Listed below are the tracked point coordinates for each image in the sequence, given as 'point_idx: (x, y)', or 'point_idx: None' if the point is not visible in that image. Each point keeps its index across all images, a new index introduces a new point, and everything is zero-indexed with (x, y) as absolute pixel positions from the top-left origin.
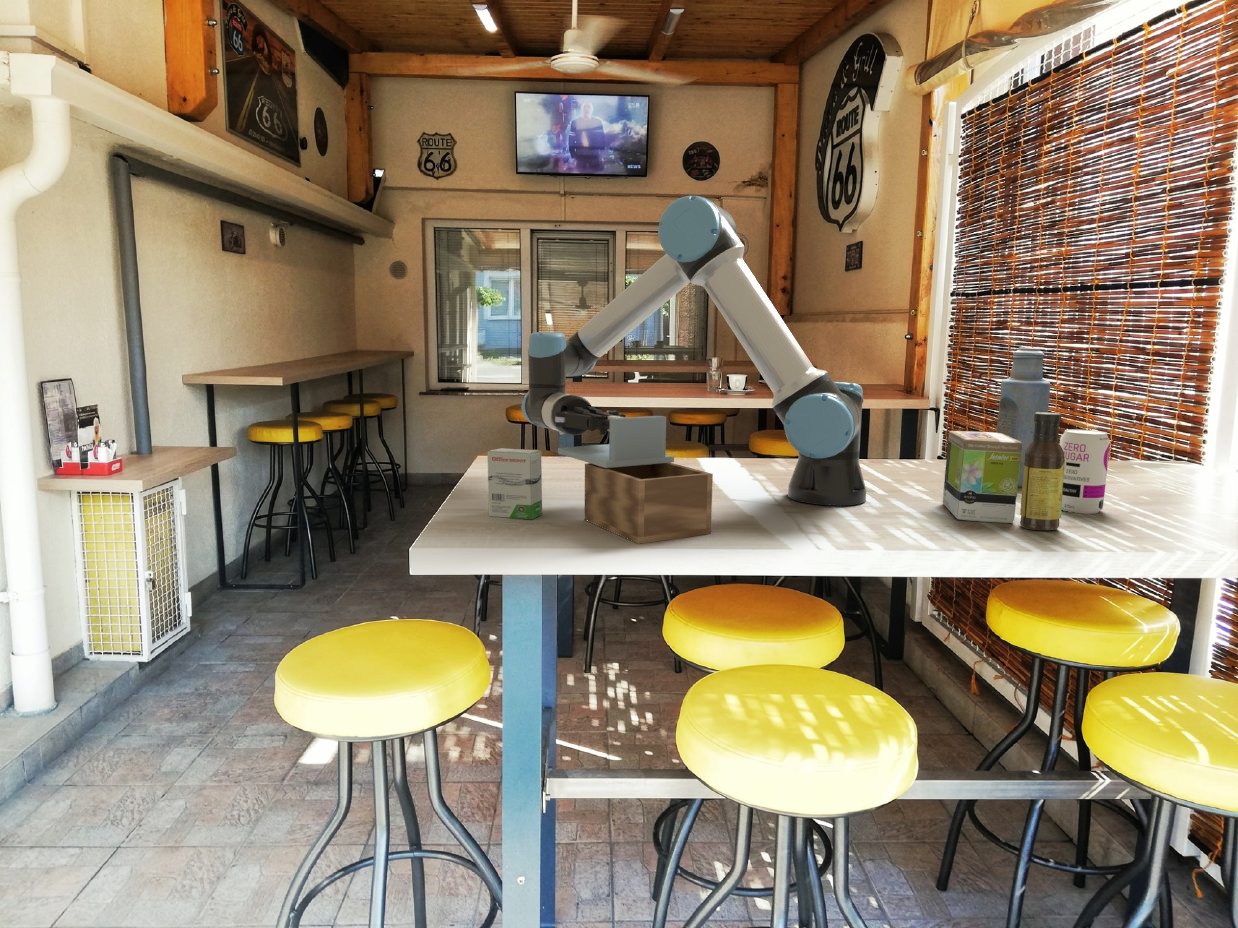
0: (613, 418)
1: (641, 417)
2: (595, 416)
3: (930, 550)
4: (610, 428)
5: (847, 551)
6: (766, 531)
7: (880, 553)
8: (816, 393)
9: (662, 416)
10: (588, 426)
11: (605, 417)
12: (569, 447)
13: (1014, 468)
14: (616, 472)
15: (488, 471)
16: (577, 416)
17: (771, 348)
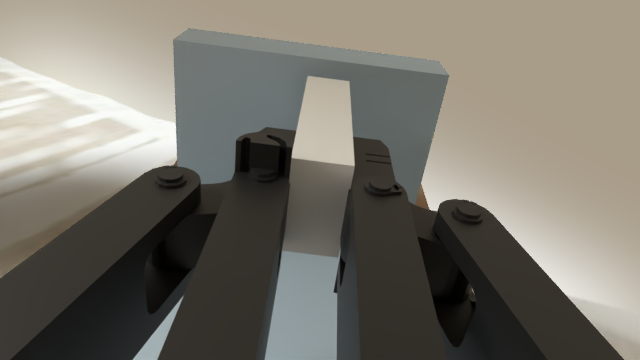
0: (435, 69)
1: (300, 47)
2: (439, 207)
3: (59, 96)
4: (436, 115)
5: (139, 125)
6: (105, 200)
7: (118, 111)
8: None
9: (191, 33)
10: (455, 339)
11: (369, 179)
12: None
13: None
14: (416, 200)
15: None
16: (598, 350)
17: None
